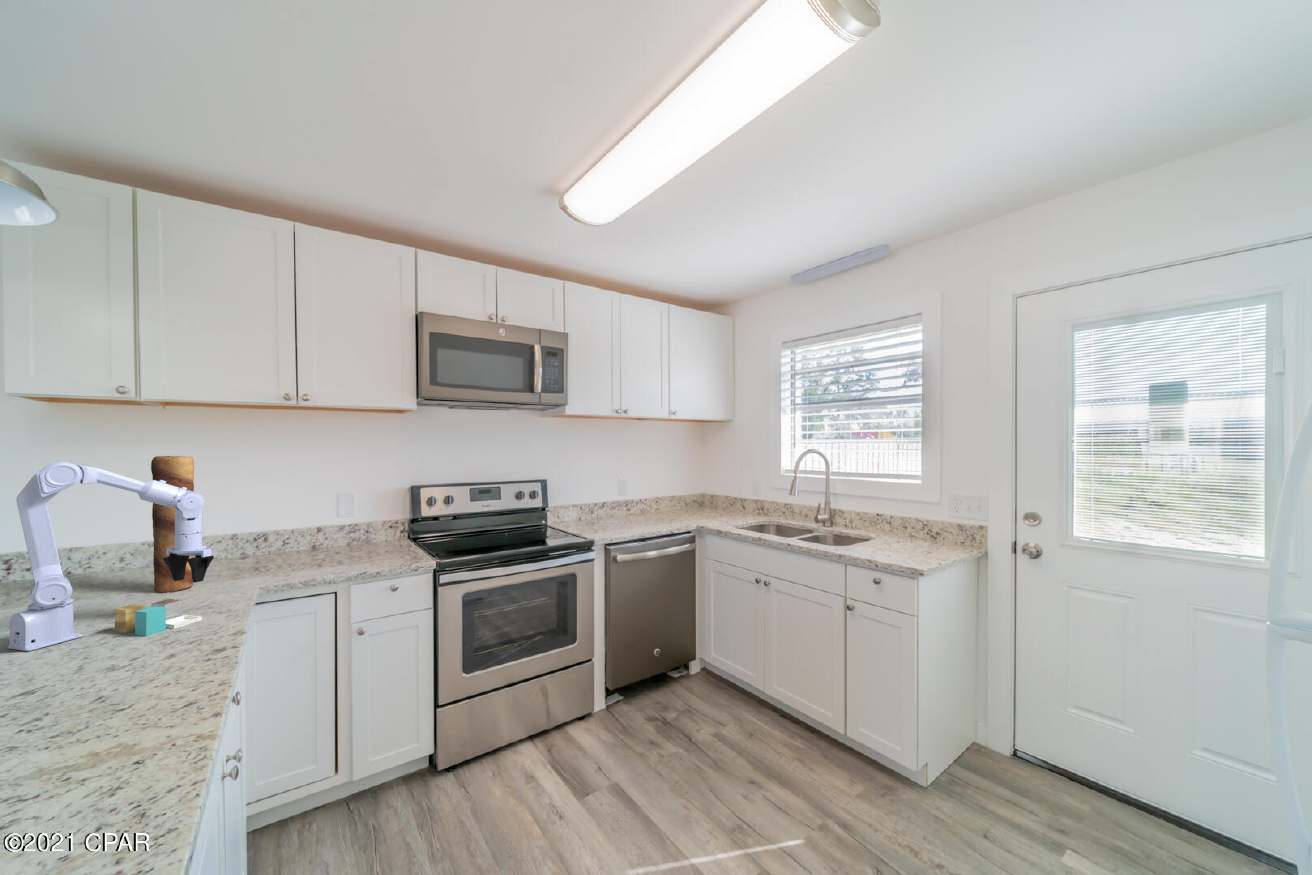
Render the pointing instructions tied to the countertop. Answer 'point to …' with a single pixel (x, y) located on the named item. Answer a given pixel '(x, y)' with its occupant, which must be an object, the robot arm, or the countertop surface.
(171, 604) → the block
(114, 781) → the countertop surface
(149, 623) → the teal block
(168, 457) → the brown striped cylinder
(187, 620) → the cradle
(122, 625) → the ochre block
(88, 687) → the countertop surface
